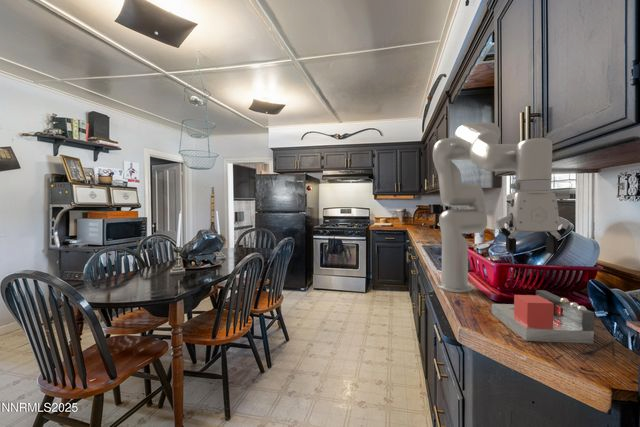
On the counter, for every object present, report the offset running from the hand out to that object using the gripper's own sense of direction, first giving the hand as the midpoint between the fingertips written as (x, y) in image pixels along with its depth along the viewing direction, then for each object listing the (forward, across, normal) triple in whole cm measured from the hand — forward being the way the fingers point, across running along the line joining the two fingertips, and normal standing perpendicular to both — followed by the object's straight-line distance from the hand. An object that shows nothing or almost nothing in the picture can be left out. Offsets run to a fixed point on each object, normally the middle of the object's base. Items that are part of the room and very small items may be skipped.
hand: (531, 253), depth 76 cm
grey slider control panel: (+21, +3, +3) cm, 21 cm away
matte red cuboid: (+18, 0, -2) cm, 18 cm away
